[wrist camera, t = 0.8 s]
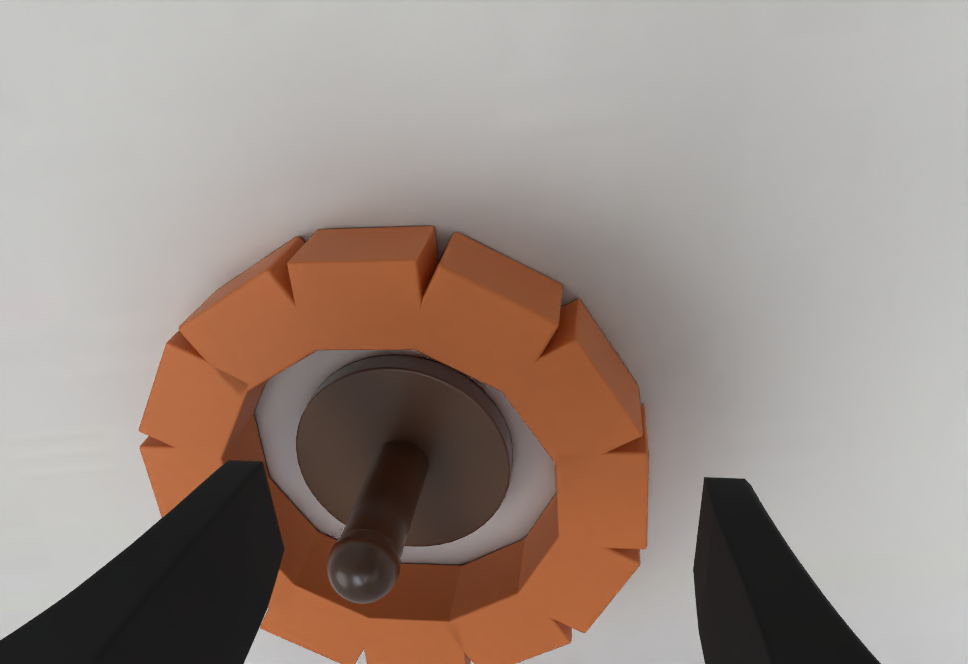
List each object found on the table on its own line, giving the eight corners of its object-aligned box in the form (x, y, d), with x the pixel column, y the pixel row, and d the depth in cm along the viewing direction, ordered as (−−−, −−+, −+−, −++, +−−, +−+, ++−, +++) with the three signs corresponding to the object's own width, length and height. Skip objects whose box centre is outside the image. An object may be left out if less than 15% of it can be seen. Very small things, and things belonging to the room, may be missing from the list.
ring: (369, 666, 29) (351, 725, 27) (91, 374, 25) (43, 417, 22) (730, 522, 24) (743, 581, 22) (463, 123, 20) (446, 149, 18)
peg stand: (388, 557, 26) (335, 714, 21) (262, 413, 24) (170, 548, 19) (554, 481, 24) (541, 636, 19) (429, 316, 22) (376, 439, 17)
